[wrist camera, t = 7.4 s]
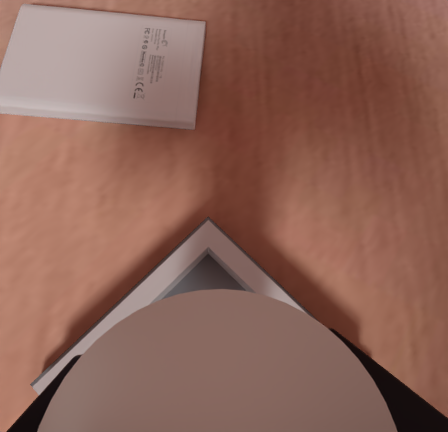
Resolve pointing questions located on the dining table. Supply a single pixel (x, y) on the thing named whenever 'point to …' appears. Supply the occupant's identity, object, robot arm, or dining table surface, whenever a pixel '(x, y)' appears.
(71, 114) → the external hard drive
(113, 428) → the peg
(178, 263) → the dock
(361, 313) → the dining table surface
